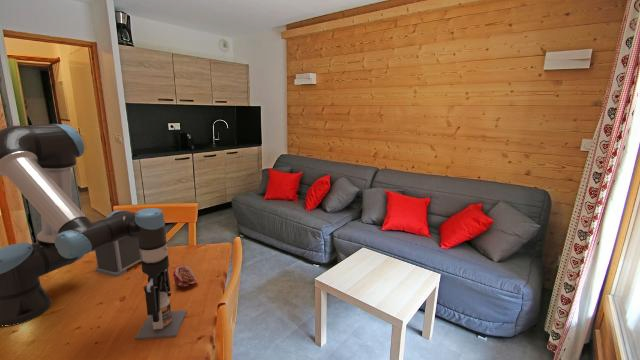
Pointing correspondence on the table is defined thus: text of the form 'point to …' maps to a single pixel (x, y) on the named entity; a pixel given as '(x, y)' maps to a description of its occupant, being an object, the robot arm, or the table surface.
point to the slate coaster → (167, 330)
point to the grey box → (117, 256)
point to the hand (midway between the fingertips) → (162, 321)
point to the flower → (183, 276)
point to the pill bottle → (165, 308)
